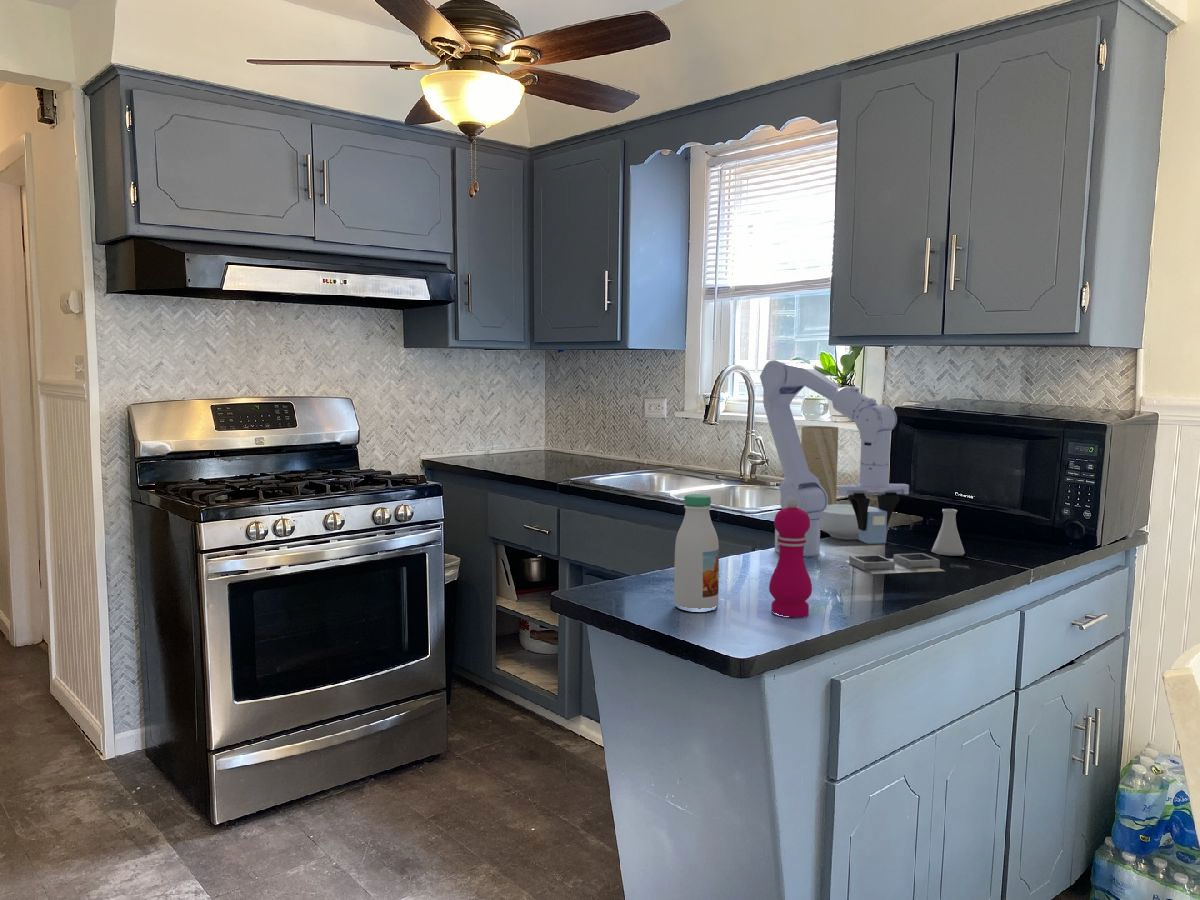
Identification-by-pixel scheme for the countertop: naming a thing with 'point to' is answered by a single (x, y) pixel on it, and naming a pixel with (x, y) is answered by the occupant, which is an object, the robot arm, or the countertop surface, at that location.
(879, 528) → the plug
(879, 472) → the robot arm
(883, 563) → the panel
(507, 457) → the countertop surface
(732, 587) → the countertop surface
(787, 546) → the pepper mill
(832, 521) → the cereal bowl
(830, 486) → the tapered wooden vase
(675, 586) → the milk bottle
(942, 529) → the flask
